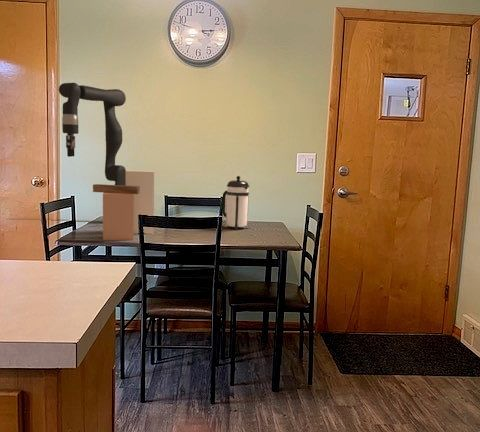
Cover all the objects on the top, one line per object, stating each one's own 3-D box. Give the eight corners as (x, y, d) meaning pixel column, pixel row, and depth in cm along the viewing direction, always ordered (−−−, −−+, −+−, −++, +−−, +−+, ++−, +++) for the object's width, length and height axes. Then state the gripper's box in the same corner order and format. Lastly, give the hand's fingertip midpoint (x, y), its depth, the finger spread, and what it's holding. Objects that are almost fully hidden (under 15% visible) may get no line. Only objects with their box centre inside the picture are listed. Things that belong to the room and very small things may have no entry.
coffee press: (250, 226, 264) (252, 175, 260) (248, 231, 248) (250, 177, 244) (221, 224, 266) (223, 174, 261) (217, 229, 250) (219, 175, 246)
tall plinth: (126, 230, 237) (126, 170, 232) (152, 230, 240) (153, 170, 235) (125, 233, 227) (125, 171, 222) (153, 233, 230) (154, 171, 225)
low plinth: (104, 236, 220) (104, 191, 217) (133, 235, 223) (133, 192, 220) (103, 240, 210) (102, 193, 207) (133, 239, 213) (133, 194, 210)
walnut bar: (96, 191, 217) (96, 184, 216) (139, 193, 214) (139, 186, 214) (92, 191, 213) (92, 184, 213) (137, 194, 211) (137, 186, 210)
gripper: (76, 123, 217) (77, 157, 219) (79, 124, 231) (80, 156, 233) (60, 122, 215) (60, 156, 218) (64, 124, 229) (65, 155, 231)
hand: (70, 156), depth 225 cm, fingers open, 8 cm apart
